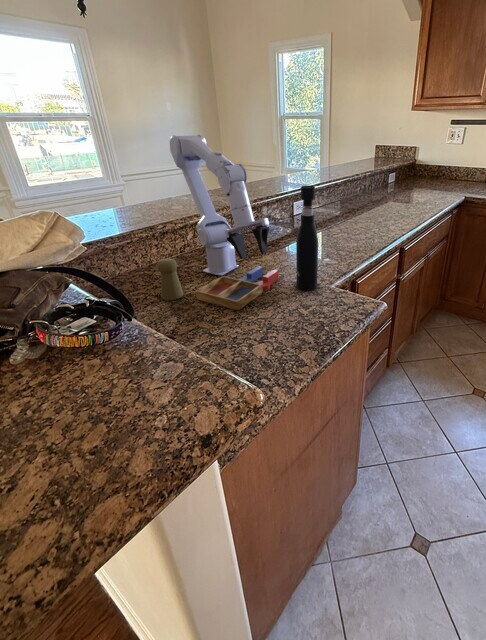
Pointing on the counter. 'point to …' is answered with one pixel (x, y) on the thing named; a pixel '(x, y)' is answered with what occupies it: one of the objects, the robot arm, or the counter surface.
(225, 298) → the wooden sorting tray
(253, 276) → the blue spoon
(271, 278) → the red spoon
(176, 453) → the counter surface
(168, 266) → the olive green pawn
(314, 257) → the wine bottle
